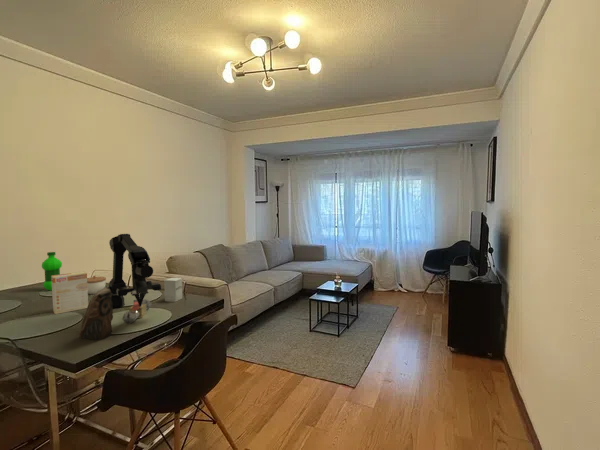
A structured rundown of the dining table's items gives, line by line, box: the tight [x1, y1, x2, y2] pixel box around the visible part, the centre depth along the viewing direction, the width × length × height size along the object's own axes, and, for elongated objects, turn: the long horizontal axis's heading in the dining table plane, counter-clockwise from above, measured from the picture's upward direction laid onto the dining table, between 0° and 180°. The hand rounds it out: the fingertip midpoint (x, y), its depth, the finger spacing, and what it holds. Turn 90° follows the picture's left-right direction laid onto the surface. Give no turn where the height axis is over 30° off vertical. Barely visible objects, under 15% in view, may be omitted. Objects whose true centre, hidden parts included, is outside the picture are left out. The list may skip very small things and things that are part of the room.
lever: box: [131, 298, 139, 310], centre depth 159 cm, size 12×4×2 cm, turn 21°
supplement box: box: [163, 277, 183, 303], centre depth 191 cm, size 7×7×13 cm
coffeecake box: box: [51, 271, 89, 315], centre depth 173 cm, size 15×7×20 cm, turn 135°
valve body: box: [122, 298, 152, 325], centre depth 164 cm, size 6×21×6 cm, turn 6°
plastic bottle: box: [41, 251, 63, 292], centre depth 214 cm, size 10×10×25 cm
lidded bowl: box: [87, 275, 107, 295], centre depth 207 cm, size 13×13×11 cm
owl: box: [79, 285, 114, 341], centre depth 139 cm, size 13×13×20 cm
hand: (140, 306), depth 156 cm, fingers closed
